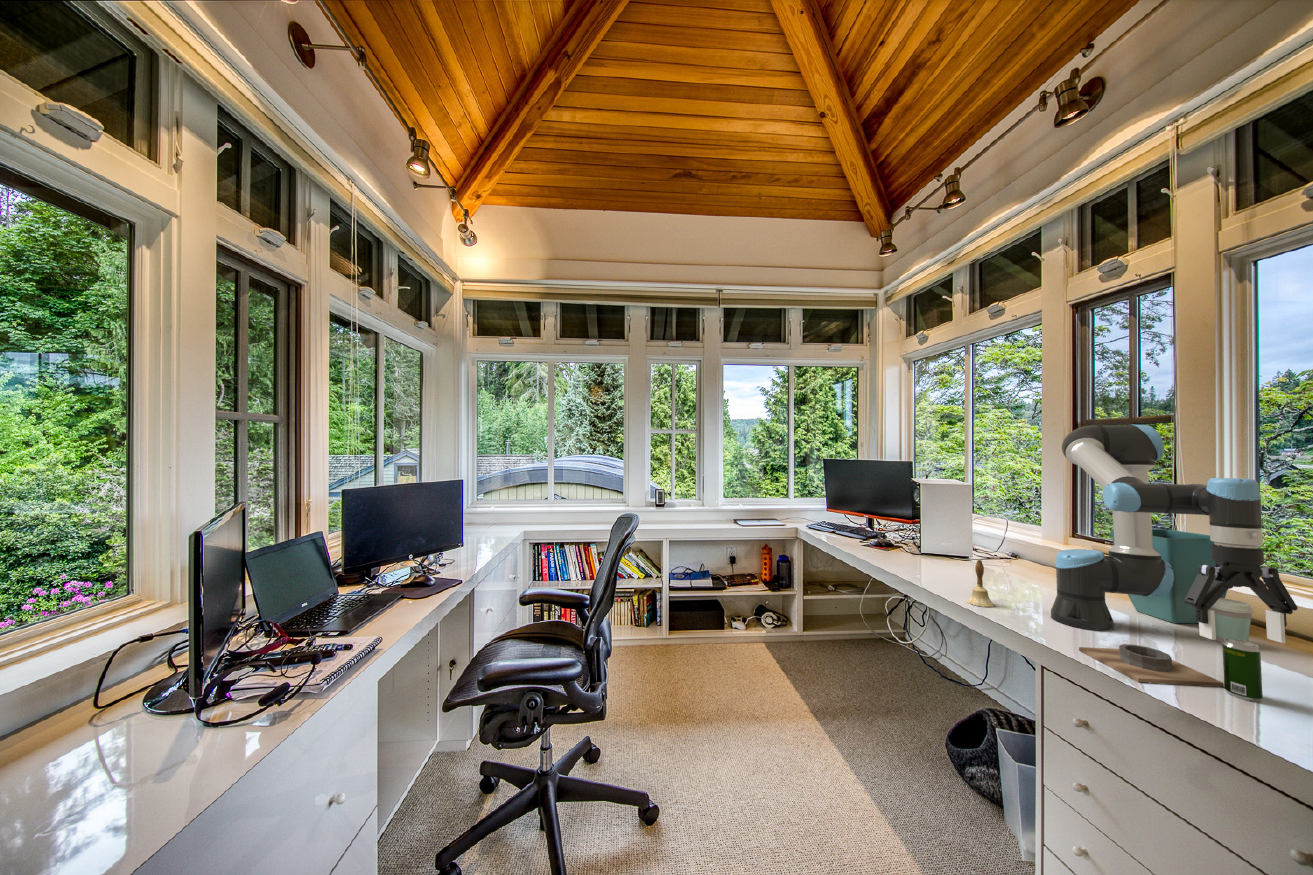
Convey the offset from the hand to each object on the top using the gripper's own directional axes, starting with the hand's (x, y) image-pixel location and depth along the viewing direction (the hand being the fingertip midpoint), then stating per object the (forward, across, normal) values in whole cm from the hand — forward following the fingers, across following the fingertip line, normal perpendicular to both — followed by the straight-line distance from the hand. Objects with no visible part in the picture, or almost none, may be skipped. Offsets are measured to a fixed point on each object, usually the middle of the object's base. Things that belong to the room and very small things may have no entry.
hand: (1241, 639), depth 104 cm
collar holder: (+13, -9, +14) cm, 21 cm away
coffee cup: (+12, +30, +34) cm, 47 cm away
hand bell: (+12, -22, +62) cm, 67 cm away
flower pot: (+12, +34, +56) cm, 66 cm away
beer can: (+13, 0, 0) cm, 13 cm away
